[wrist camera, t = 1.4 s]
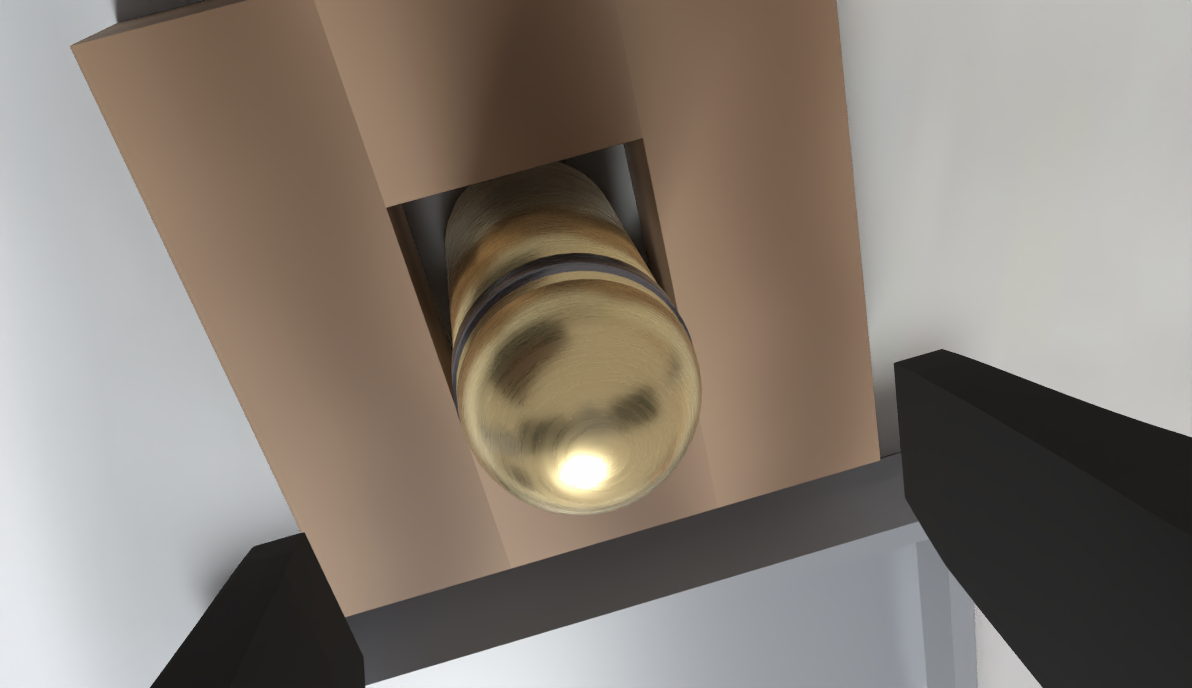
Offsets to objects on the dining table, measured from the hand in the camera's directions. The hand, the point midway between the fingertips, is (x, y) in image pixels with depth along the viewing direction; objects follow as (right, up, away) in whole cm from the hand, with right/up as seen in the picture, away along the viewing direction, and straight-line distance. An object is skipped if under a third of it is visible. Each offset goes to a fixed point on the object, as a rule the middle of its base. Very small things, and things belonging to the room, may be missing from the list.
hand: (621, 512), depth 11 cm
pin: (-2, +4, +8) cm, 9 cm away
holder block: (-2, +4, +8) cm, 9 cm away
